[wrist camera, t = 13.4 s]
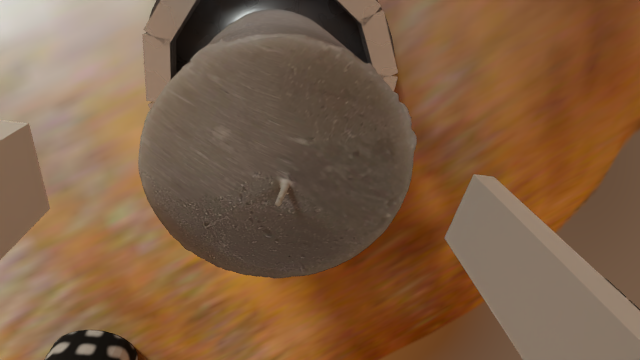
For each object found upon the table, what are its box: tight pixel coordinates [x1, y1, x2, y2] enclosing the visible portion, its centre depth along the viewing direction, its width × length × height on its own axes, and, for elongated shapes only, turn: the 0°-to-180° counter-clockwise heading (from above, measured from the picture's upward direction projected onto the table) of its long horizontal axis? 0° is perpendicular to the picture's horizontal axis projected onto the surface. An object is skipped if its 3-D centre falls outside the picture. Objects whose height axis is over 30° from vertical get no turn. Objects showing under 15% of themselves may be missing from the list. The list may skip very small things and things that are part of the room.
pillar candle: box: [138, 9, 417, 278], centre depth 17 cm, size 10×10×15 cm
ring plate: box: [143, 0, 398, 109], centre depth 24 cm, size 17×17×2 cm
